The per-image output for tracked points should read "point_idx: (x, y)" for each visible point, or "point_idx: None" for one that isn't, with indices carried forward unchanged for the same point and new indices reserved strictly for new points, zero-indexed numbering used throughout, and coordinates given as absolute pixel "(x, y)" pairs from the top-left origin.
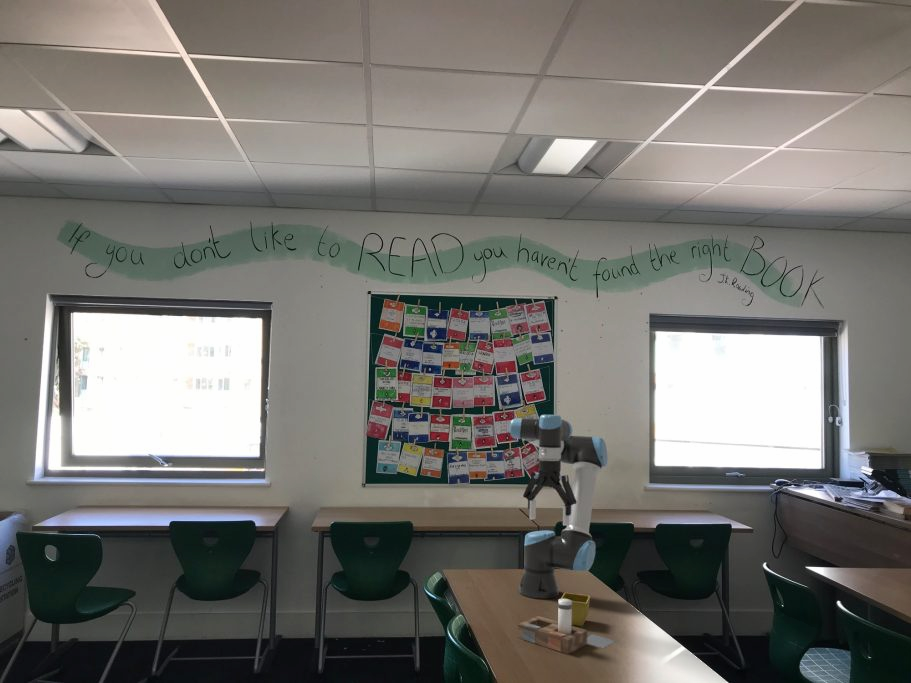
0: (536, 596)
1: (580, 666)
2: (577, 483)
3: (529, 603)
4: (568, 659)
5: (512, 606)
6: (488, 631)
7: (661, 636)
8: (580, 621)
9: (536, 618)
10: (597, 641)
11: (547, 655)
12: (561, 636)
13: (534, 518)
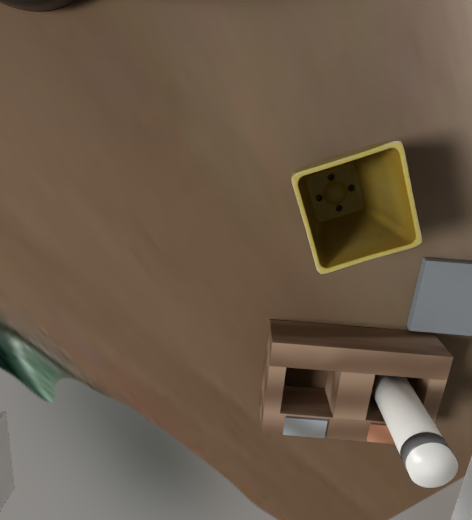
0: (67, 1)
1: (455, 437)
2: None
3: (89, 86)
4: None
5: (69, 164)
6: (162, 395)
7: None
8: (373, 224)
9: (279, 363)
10: (456, 302)
11: None
12: None
13: (3, 437)
